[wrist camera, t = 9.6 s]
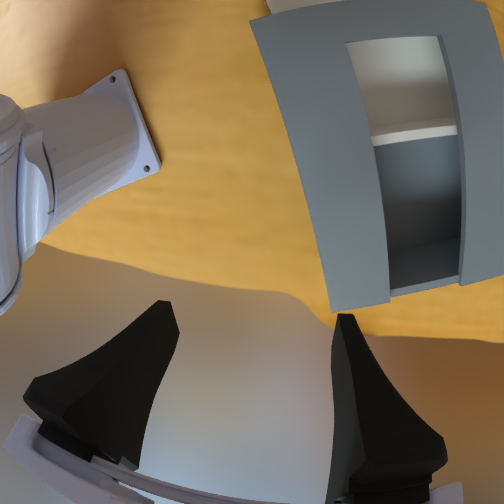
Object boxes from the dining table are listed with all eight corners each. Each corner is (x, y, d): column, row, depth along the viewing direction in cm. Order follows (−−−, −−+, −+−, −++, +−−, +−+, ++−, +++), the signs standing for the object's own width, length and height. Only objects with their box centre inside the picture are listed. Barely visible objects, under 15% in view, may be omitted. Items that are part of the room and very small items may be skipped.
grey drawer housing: (328, 265, 21) (331, 312, 17) (263, 38, 14) (248, 21, 10) (473, 236, 18) (503, 274, 13) (446, 16, 10) (485, 3, 6)
